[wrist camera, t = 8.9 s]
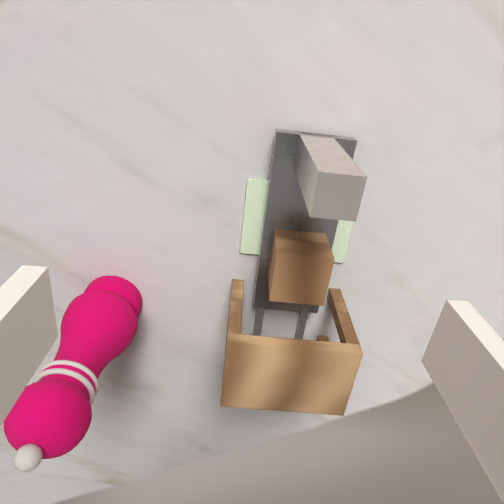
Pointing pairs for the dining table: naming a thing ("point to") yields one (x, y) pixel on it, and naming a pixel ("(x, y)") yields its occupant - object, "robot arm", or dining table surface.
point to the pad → (255, 219)
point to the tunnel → (290, 365)
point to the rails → (299, 327)
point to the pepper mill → (73, 373)
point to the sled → (307, 196)
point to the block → (299, 267)
